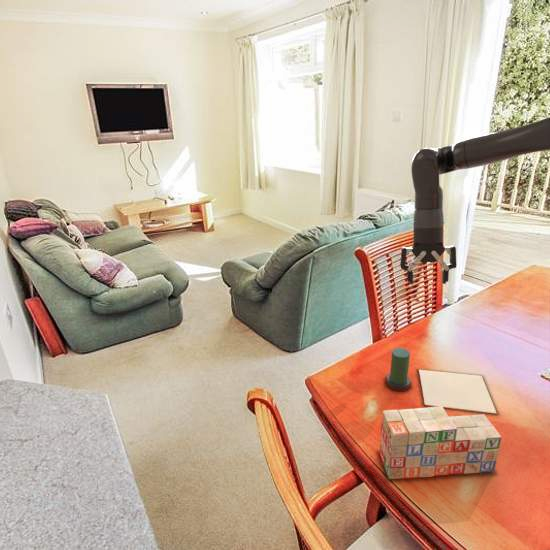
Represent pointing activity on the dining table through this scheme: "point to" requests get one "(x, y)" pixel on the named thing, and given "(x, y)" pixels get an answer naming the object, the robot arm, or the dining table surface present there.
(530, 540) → the dining table surface
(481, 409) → the napkin
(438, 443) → the stack of blocks
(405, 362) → the green cylinder with base
